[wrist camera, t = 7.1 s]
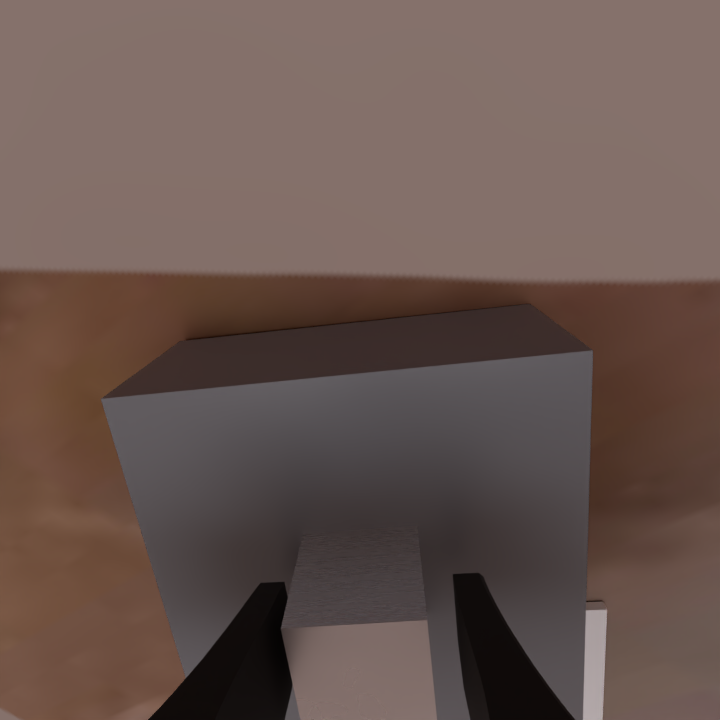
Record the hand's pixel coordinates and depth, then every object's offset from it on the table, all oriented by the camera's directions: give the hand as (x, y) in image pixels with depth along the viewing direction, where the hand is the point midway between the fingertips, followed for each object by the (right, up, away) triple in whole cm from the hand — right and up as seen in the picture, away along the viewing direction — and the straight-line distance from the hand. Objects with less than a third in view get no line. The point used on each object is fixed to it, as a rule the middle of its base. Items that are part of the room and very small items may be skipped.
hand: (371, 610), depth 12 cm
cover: (0, +2, +6) cm, 6 cm away
